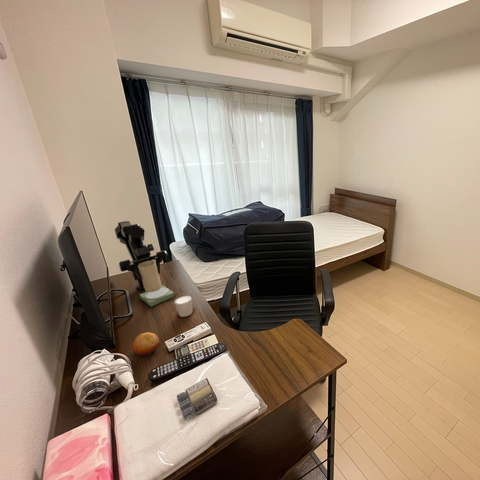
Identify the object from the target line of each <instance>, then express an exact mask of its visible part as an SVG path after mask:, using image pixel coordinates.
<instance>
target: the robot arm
mask: <svg viewBox="0 0 480 480" xmlns="http://www.w3.org/2000/svg"><path fill="white" fill-rule="evenodd" d="M114 233H115V237H116V240H119V243H121V244H123V245H125V247H126V249H127V252H128V254H129V256H130V258H131V260H130V259H125V260H121V261H119V263H118V266H119V267H118V268H119V271H120V272H126V271H127V272H131V274H132V278H133V280H134V281H135V282H136V281H137V283H138V285H137V288H138V289H139V290H141V291H145V289H144V285H143V282H142V276H141V274H140V271H139V268H138V265H139V264H140V263H143V262H146V261H155V262H156V265H157V269H158V273H159V275H160V274H161V263H163V261H166V260H167V259H168V252H167V251H166V250H161V251H160V250H159V251H156V252H155V254H154V255H152V253H151V252H153V251H155V247H154V245H153V243H148V244H147V245H146V243H145V229H144V227H142V226H141V225H139V224H138V223H134V224H133V223H131V222H130V221H129V220H124V221H119V222H117V226H116V227H115V228H114Z"/></svg>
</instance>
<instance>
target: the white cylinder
mask: <svg viewBox="0 0 480 480" xmlns="http://www.w3.org/2000/svg"><path fill="white" fill-rule="evenodd" d="M174 306H175V308H176V311H177V314H178V316H179V317H180V318H181V317H182V318H185V317H189V316H191V315H192V314H193V312H194V310H193V301H192V297H191V296H190V295H183V296H180V297H178V298H176V299H175V300H174Z"/></svg>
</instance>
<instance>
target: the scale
mask: <svg viewBox="0 0 480 480" xmlns="http://www.w3.org/2000/svg"><path fill="white" fill-rule="evenodd" d="M139 297H140V299H141V300H142V301H143V302H144V303H145V304H147V305H148V306H149V307H150V308H151V307H154V306H156V305H159V304H161V303H163V302H166V301H167V300H169V299H172V298H174V297H175V292H173V290H171V289H170V288H167V287H166V286H165V285H163V284H162V287H161V288H160V289H159V290H157V291H154V292H146V291H145V292H143V293H139Z"/></svg>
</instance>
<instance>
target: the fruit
mask: <svg viewBox="0 0 480 480" xmlns="http://www.w3.org/2000/svg"><path fill="white" fill-rule="evenodd" d="M159 345H160V339H159V337H158V335H157V334H156V333H153V332H151V331H149V332H148V331H147V332H143V333H139V334H138V335H137V336H136V337H135V339H134V340H133V342H132V343H131V348H132V350H133V352H134V353H135V354H134V355H139V356H149V355H151V354H152V353H153V352H154V351H155V350H156V349H157V348H158V346H159Z"/></svg>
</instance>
